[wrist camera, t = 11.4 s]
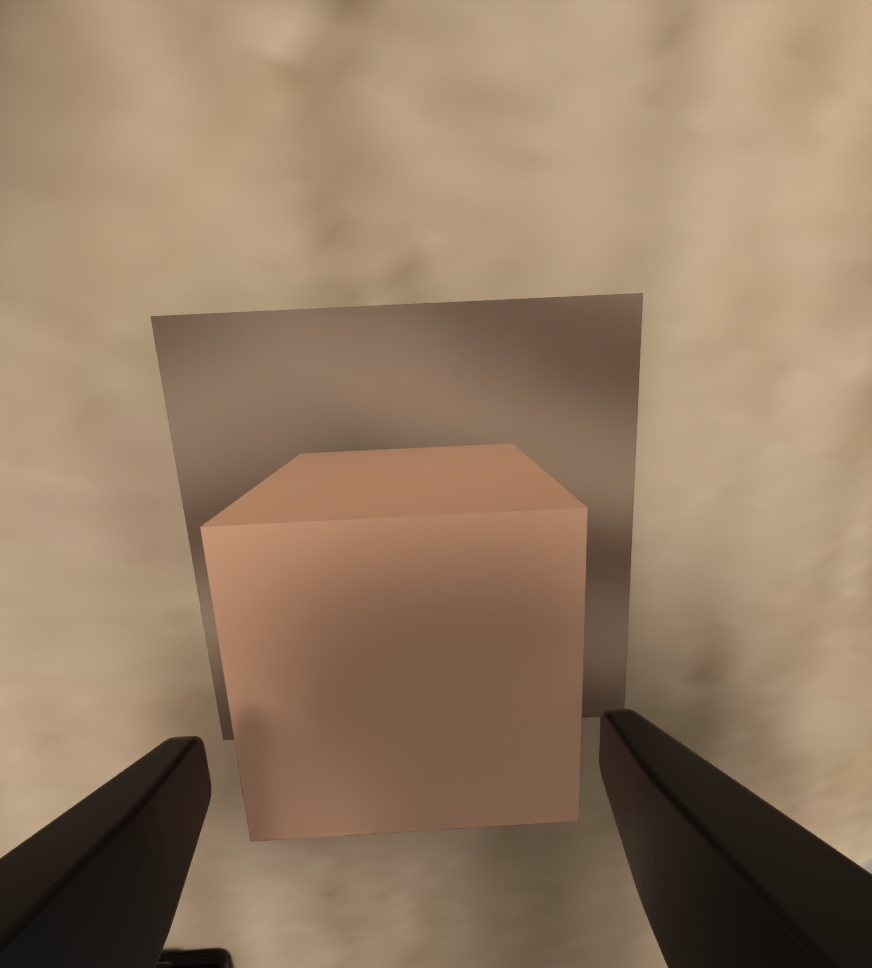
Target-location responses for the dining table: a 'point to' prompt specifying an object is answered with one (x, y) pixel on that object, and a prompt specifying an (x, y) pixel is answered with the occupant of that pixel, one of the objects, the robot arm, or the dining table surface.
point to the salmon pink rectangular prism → (402, 641)
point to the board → (418, 417)
